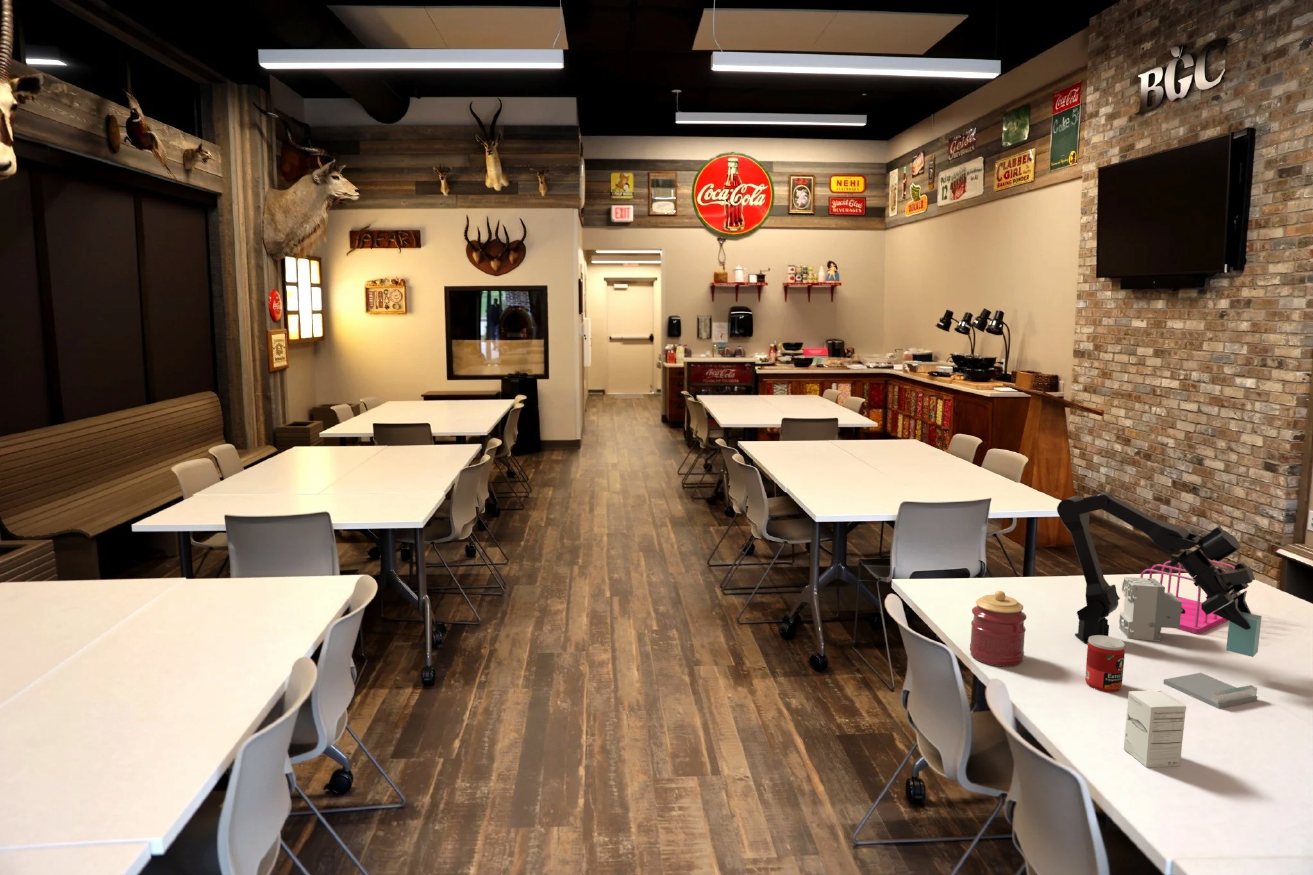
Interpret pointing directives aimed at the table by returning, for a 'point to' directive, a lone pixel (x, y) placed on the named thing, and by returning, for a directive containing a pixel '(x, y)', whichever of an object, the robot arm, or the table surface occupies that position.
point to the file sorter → (1190, 603)
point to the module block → (1244, 636)
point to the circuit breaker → (1148, 609)
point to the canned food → (1105, 663)
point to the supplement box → (1154, 728)
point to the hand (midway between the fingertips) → (1251, 626)
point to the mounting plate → (1212, 690)
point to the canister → (998, 630)
